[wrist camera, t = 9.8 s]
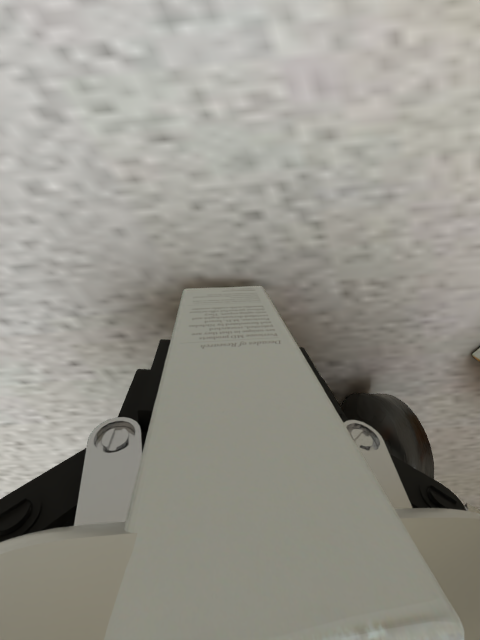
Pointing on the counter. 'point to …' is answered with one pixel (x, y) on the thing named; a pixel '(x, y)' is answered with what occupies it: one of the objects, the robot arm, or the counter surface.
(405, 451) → the trolley
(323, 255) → the counter surface
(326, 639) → the skincare box
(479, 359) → the small box
